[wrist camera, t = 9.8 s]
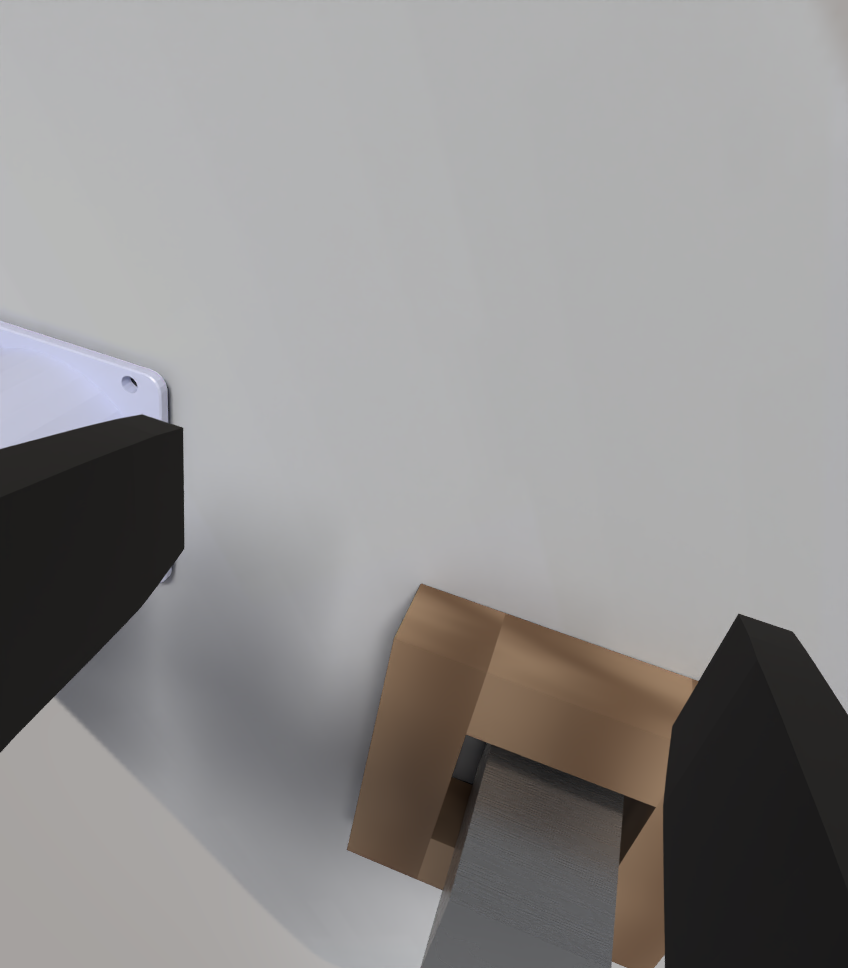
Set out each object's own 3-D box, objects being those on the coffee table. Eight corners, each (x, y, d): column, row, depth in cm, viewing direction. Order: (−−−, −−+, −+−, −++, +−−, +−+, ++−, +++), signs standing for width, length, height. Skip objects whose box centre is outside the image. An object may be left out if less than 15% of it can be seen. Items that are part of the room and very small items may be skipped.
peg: (478, 763, 25) (419, 972, 19) (506, 689, 23) (448, 900, 17) (588, 806, 24) (561, 1035, 19) (628, 735, 22) (611, 969, 17)
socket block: (371, 791, 28) (346, 850, 26) (421, 583, 22) (393, 638, 20) (649, 903, 26) (647, 976, 24) (787, 712, 20) (800, 787, 18)
